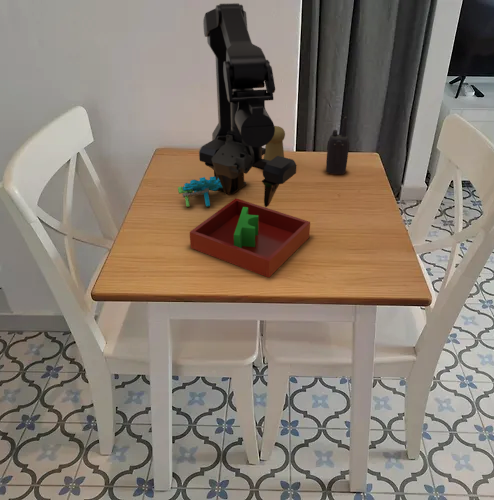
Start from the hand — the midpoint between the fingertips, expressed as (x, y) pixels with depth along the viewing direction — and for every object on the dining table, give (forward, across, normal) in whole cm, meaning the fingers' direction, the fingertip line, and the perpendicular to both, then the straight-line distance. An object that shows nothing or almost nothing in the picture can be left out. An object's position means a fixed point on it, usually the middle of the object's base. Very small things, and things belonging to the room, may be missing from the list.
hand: (246, 199), depth 109 cm
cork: (+10, -13, +33) cm, 37 cm away
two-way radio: (+10, +2, +39) cm, 40 cm away
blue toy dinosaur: (+10, -18, +9) cm, 22 cm away
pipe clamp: (+10, 0, 0) cm, 10 cm away
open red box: (+10, +1, 0) cm, 10 cm away
